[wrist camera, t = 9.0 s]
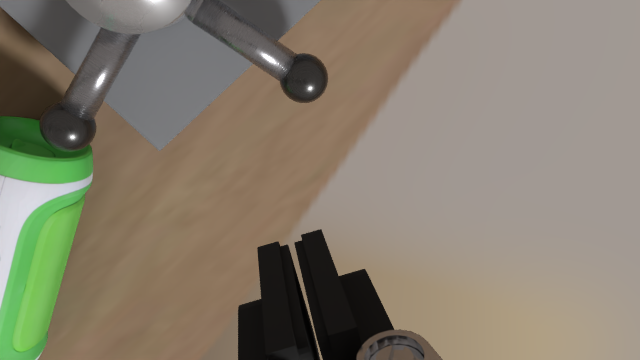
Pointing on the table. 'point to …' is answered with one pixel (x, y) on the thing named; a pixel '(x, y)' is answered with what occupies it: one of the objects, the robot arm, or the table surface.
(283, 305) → the robot arm
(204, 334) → the table surface
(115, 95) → the stand
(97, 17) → the capstan
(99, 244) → the table surface
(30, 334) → the speaker
